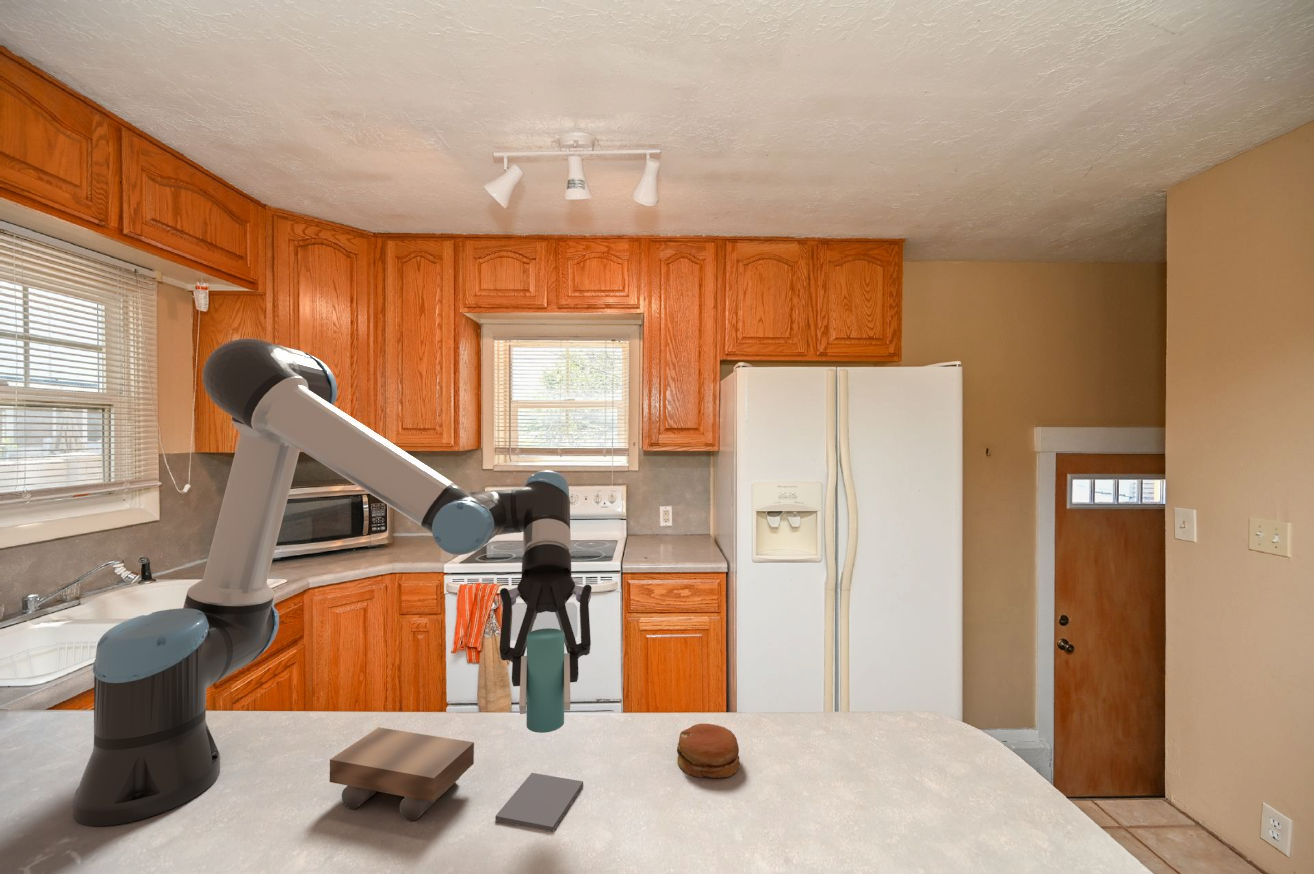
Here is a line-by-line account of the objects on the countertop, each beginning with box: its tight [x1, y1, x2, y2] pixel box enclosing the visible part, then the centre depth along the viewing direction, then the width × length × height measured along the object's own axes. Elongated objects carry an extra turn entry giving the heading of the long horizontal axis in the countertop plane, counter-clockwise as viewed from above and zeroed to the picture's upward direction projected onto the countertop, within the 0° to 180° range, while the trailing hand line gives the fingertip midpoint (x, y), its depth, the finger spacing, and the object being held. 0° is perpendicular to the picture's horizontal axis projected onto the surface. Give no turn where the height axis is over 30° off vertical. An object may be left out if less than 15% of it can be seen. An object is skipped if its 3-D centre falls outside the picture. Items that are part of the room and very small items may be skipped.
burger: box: [676, 723, 740, 779], centre depth 88 cm, size 10×9×5 cm
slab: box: [329, 726, 475, 822], centre depth 79 cm, size 16×9×6 cm, turn 75°
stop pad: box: [494, 772, 584, 833], centre depth 77 cm, size 8×10×1 cm
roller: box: [526, 627, 565, 734], centre depth 78 cm, size 5×5×12 cm
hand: (545, 707), depth 74 cm, fingers closed on roller, 5 cm apart
